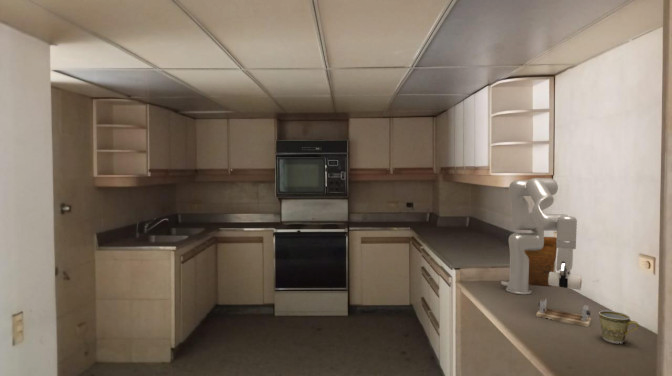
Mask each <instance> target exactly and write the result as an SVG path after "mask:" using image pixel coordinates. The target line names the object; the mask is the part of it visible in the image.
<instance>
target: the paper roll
mask: <svg viewBox="0 0 672 376" xmlns="http://www.w3.org/2000/svg"><path fill="white" fill-rule="evenodd" d="M565 275H566V274H565ZM559 277H560V272H558V271H557V272H556V271H554V272H550V273H549V277H548V283H549V285H551V286H550V287H559ZM567 279H568V287H567V288H566V289H572V290H579V291H581V289H582V282H583V280H582V279H583V277H582V275H578V274H571V273H570V274H567ZM559 288H560V287H559Z"/></svg>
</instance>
